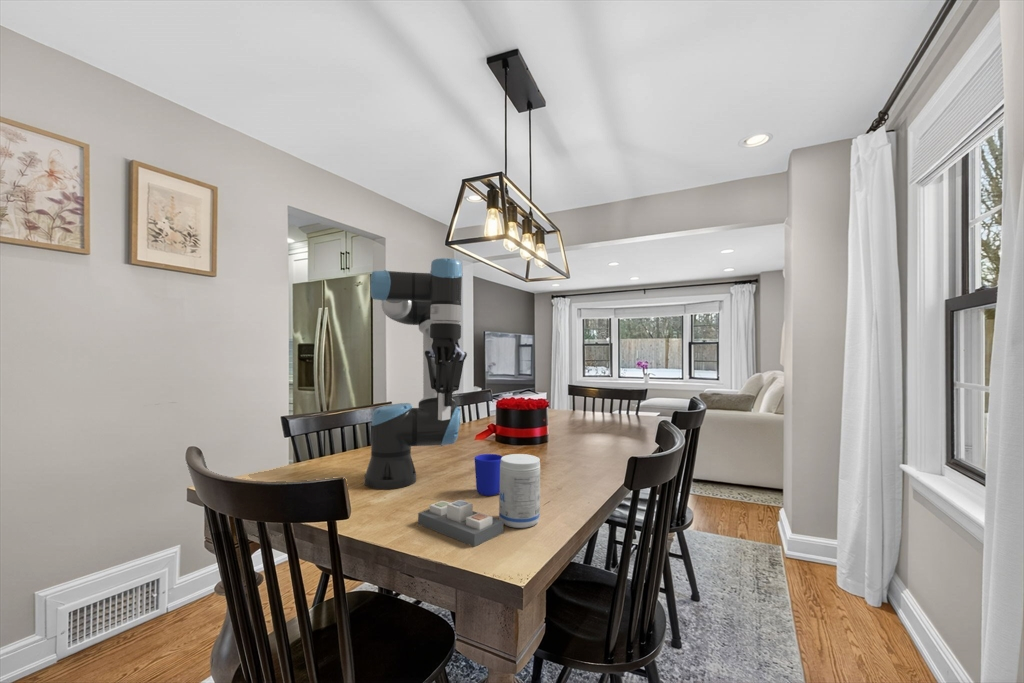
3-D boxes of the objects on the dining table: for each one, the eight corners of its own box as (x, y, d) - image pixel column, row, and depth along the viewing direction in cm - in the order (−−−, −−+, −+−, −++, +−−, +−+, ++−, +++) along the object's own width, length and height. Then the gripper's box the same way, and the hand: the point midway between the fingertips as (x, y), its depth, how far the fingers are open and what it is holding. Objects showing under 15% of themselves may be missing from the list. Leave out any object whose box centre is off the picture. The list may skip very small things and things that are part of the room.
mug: (516, 498, 117) (517, 461, 117) (472, 497, 117) (473, 460, 117) (517, 488, 125) (517, 454, 125) (475, 488, 125) (476, 453, 125)
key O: (465, 532, 92) (466, 516, 93) (478, 527, 96) (479, 511, 96) (479, 537, 90) (479, 521, 90) (492, 531, 93) (492, 516, 93)
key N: (429, 518, 100) (429, 504, 100) (442, 514, 103) (442, 499, 103) (441, 523, 97) (441, 508, 98) (454, 518, 101) (454, 503, 101)
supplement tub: (494, 515, 104) (495, 454, 104) (531, 511, 107) (531, 452, 107) (505, 531, 95) (506, 464, 95) (546, 527, 98) (546, 461, 98)
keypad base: (418, 524, 99) (418, 512, 99) (447, 512, 106) (447, 502, 106) (474, 546, 87) (474, 534, 87) (503, 532, 94) (503, 521, 94)
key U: (447, 518, 96) (447, 503, 96) (460, 513, 99) (460, 498, 99) (459, 523, 94) (459, 507, 94) (472, 517, 97) (472, 502, 97)
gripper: (416, 322, 106) (415, 418, 106) (452, 321, 98) (450, 425, 98) (439, 323, 112) (438, 414, 112) (475, 323, 104) (474, 420, 104)
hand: (444, 419), depth 105 cm, fingers closed
